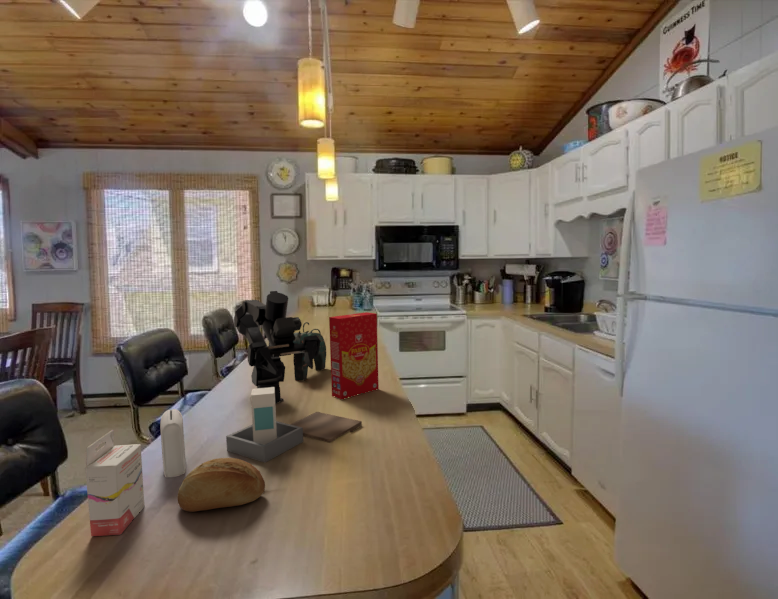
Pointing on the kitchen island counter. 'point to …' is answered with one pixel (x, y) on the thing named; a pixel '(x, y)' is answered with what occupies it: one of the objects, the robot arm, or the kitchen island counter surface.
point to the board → (326, 426)
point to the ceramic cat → (299, 361)
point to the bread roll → (220, 485)
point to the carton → (263, 415)
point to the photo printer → (173, 443)
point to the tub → (246, 447)
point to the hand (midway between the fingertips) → (295, 370)
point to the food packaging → (353, 354)
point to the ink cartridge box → (113, 485)
